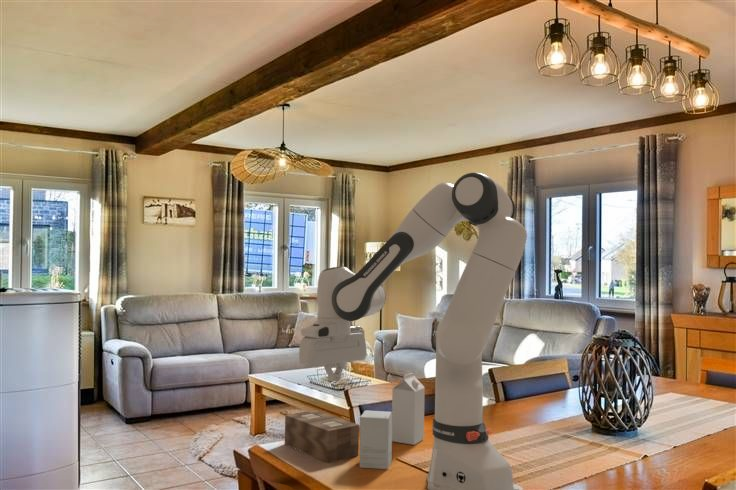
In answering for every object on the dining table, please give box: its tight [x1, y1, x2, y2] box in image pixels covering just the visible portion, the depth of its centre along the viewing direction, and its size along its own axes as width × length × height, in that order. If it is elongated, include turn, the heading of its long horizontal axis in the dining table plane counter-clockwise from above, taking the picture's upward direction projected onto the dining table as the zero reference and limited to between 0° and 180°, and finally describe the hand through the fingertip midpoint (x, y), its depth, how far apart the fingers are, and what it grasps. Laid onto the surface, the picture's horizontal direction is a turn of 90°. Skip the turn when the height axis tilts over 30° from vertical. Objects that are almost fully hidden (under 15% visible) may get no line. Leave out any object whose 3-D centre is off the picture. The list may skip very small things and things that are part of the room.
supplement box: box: [359, 409, 393, 470], centre depth 154 cm, size 7×7×13 cm
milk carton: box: [391, 372, 426, 446], centre depth 176 cm, size 7×7×19 cm
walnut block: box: [284, 409, 360, 464], centre depth 165 cm, size 20×10×8 cm, turn 40°
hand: (334, 380), depth 162 cm, fingers closed
